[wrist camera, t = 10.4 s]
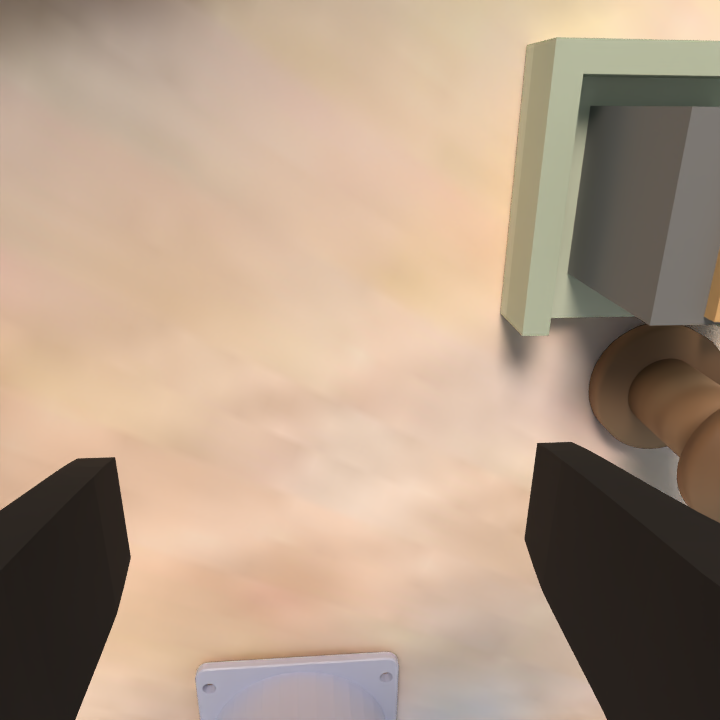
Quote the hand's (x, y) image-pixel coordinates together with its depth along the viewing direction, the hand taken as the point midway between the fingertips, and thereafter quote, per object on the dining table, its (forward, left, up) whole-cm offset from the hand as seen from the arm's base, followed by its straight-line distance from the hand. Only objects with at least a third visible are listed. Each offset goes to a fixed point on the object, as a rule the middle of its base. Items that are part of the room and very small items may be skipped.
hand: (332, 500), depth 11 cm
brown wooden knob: (-2, -12, -10) cm, 15 cm away
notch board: (+4, -10, -10) cm, 14 cm away
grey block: (+4, -10, -9) cm, 14 cm away
